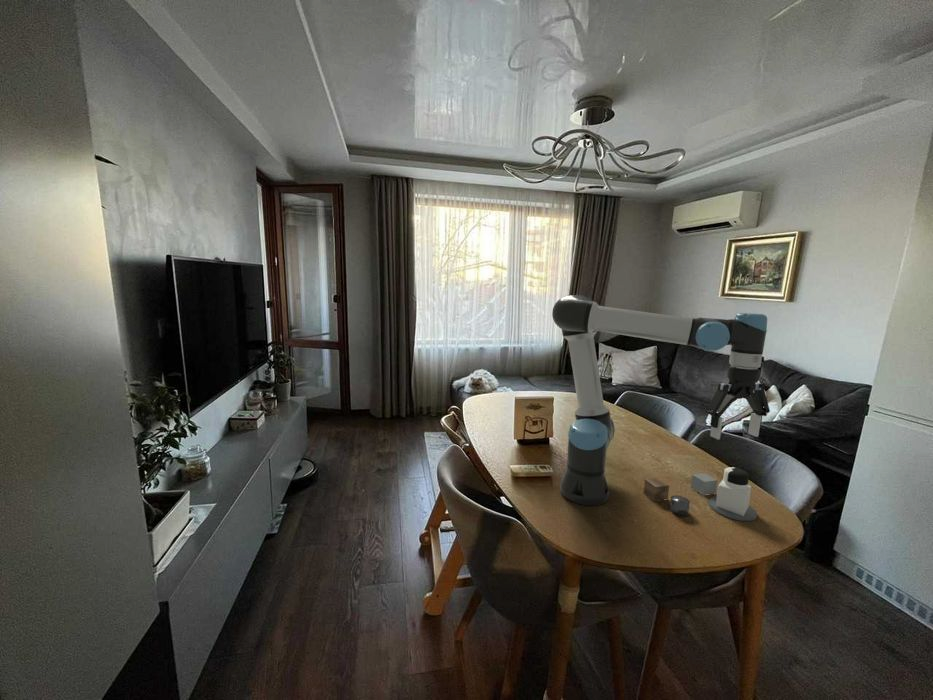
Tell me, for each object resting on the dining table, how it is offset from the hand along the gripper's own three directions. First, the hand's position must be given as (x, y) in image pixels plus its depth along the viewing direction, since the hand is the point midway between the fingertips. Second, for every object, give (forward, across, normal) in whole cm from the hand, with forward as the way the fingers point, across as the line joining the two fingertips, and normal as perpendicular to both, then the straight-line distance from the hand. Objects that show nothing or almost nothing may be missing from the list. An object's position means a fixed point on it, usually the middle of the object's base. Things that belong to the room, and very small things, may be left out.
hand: (734, 436), depth 114 cm
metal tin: (+23, -16, 0) cm, 28 cm away
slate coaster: (+23, +1, -2) cm, 23 cm away
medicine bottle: (+22, +1, -2) cm, 22 cm away
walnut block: (+23, -17, +9) cm, 30 cm away
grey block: (+23, +1, +9) cm, 25 cm away
